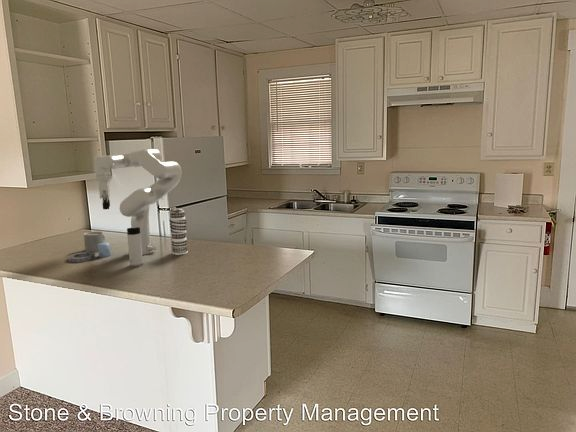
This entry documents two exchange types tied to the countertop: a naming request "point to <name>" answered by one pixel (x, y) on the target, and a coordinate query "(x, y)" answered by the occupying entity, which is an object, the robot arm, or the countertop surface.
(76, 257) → the collar ring
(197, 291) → the countertop surface
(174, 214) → the decorative candle
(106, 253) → the pale blue rounded block
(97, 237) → the coffee mug
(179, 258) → the countertop surface
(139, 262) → the travel mug
